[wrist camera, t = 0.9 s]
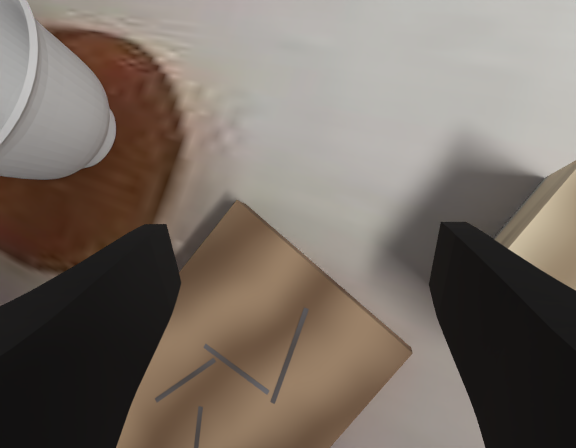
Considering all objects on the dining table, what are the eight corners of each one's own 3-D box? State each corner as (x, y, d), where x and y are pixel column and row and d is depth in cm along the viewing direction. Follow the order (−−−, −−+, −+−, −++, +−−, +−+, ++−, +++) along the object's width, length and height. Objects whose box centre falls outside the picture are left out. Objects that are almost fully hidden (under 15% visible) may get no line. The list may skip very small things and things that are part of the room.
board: (410, 347, 22) (412, 353, 21) (204, 583, 24) (192, 604, 22) (245, 203, 26) (236, 200, 24) (76, 415, 27) (58, 423, 26)
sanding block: (629, 231, 20) (705, 220, 15) (519, 357, 21) (559, 384, 16) (543, 178, 21) (589, 152, 17) (442, 298, 22) (458, 306, 17)
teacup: (78, 16, 32) (-56, -94, 22) (180, 127, 28) (72, 53, 18) (-10, 119, 33) (-172, 57, 23) (76, 239, 29) (-76, 224, 20)
